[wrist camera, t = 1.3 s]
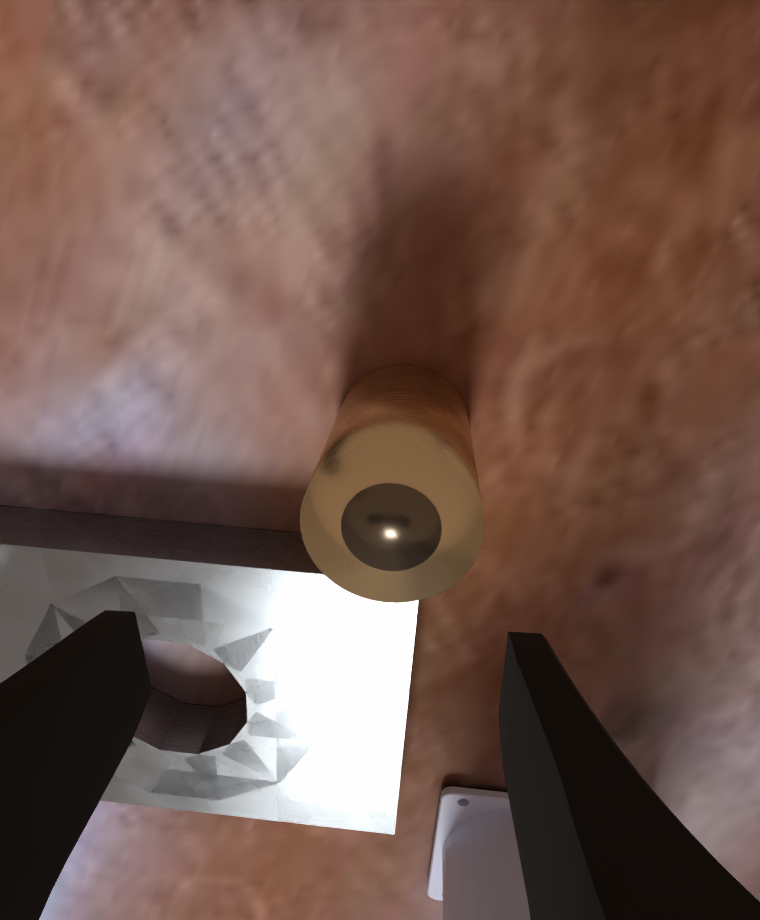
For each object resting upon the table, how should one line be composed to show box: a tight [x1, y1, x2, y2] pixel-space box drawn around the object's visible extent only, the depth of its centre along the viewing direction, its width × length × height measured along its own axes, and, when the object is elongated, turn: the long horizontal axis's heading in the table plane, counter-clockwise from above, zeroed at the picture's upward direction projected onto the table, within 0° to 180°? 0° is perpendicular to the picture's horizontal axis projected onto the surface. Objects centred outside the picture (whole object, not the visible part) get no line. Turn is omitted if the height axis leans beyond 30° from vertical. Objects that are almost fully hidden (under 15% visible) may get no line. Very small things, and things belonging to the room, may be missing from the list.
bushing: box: [300, 365, 484, 603], centre depth 17 cm, size 4×4×7 cm
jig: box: [0, 506, 418, 834], centre depth 23 cm, size 18×13×4 cm
